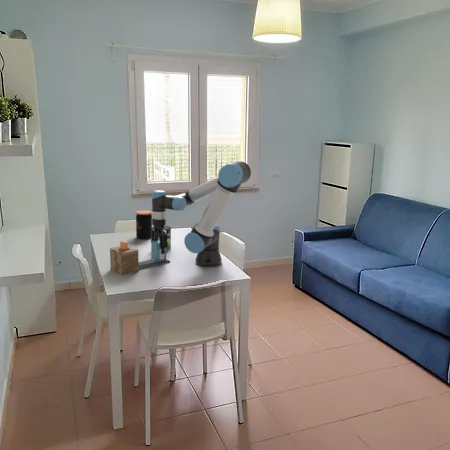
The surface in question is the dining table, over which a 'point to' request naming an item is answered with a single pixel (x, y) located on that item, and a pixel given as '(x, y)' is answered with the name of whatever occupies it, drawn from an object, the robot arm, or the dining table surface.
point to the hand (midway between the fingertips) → (158, 257)
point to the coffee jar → (143, 224)
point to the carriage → (157, 251)
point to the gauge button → (123, 245)
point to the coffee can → (168, 237)
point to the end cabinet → (124, 260)
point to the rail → (151, 263)
